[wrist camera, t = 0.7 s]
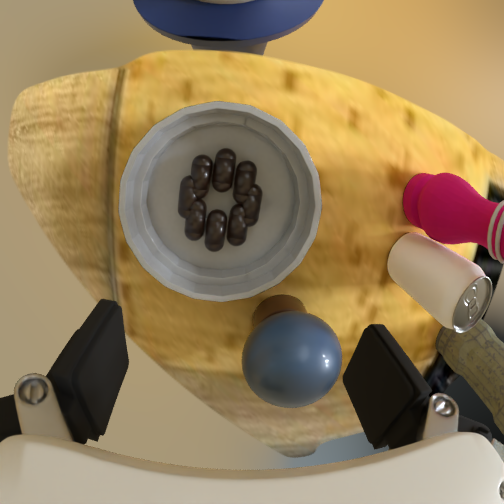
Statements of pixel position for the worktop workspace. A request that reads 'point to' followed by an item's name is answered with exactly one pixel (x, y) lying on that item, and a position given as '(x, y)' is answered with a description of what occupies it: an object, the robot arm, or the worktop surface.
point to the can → (440, 281)
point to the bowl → (220, 201)
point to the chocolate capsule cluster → (222, 181)
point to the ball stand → (290, 354)
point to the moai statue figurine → (477, 363)
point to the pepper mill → (454, 212)
